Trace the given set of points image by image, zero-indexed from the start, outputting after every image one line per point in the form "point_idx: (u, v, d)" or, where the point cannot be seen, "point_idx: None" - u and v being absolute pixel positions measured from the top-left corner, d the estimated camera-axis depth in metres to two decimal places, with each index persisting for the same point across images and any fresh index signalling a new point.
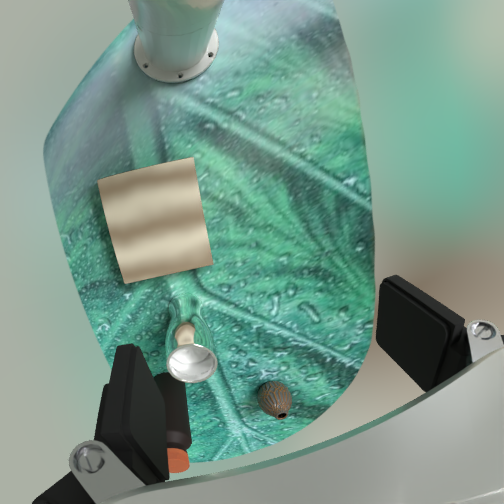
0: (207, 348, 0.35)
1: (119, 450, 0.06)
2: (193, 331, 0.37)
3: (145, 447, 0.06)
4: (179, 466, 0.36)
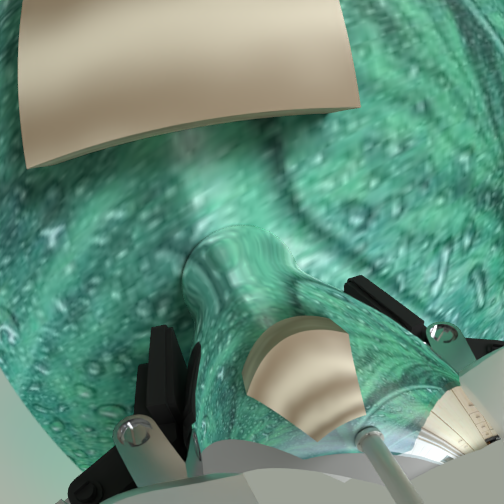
0: None
1: (162, 423, 0.07)
2: (440, 386, 0.04)
3: None
4: None
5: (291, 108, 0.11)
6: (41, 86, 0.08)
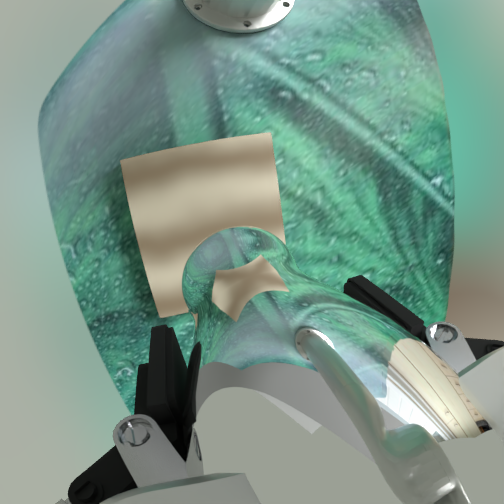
0: None
1: (162, 423, 0.07)
2: (441, 388, 0.04)
3: None
4: None
5: None
6: (162, 288, 0.28)
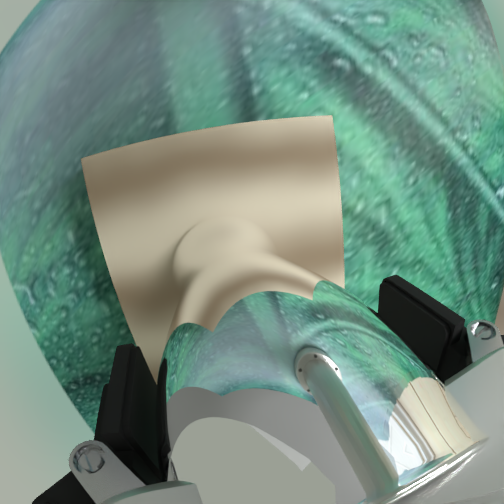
0: None
1: (119, 450, 0.06)
2: (372, 339, 0.05)
3: (145, 447, 0.06)
4: None
5: None
6: (160, 358, 0.18)
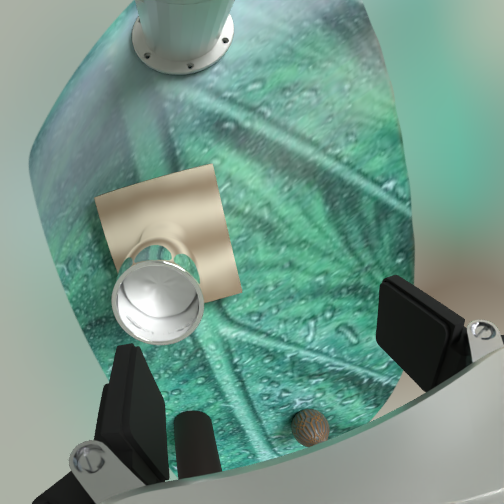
0: (184, 270, 0.19)
1: (119, 450, 0.06)
2: (162, 247, 0.21)
3: (145, 447, 0.06)
4: None
5: None
6: None
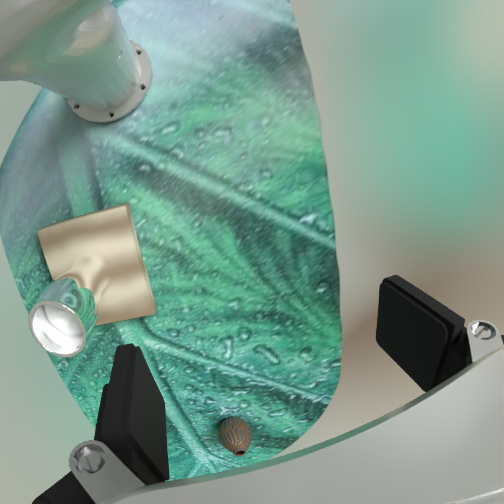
0: (69, 308, 0.23)
1: (119, 450, 0.06)
2: (62, 287, 0.25)
3: (145, 447, 0.06)
4: None
5: (134, 317, 0.41)
6: None
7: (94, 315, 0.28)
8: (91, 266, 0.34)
